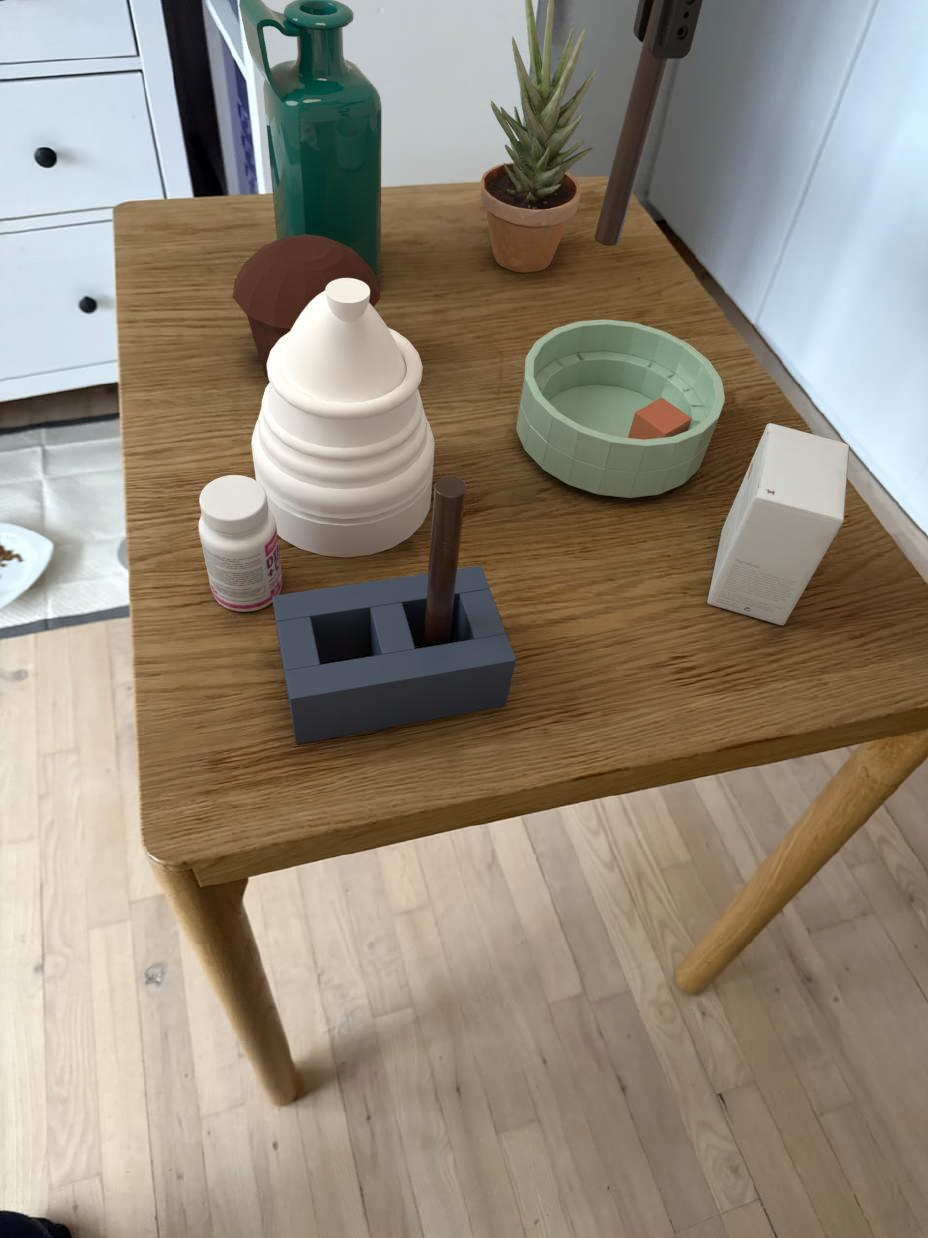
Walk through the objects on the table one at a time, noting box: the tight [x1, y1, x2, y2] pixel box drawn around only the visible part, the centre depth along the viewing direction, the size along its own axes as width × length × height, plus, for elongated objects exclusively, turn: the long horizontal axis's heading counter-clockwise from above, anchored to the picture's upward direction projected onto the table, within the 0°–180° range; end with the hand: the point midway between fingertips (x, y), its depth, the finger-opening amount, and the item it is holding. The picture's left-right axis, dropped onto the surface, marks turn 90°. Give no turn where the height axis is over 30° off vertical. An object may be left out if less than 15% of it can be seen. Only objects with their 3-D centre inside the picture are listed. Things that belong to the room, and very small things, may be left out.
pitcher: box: [238, 0, 383, 280], centre depth 76 cm, size 10×8×22 cm
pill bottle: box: [198, 474, 283, 613], centre depth 57 cm, size 5×5×8 cm
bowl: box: [515, 318, 726, 499], centre depth 71 cm, size 15×15×6 cm
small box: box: [706, 422, 851, 626], centre depth 61 cm, size 8×6×10 cm
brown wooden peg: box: [422, 475, 467, 648], centre depth 51 cm, size 2×2×16 cm
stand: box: [272, 565, 517, 745], centre depth 55 cm, size 8×13×5 cm, turn 105°
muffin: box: [232, 234, 381, 377], centre depth 73 cm, size 12×11×10 cm
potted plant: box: [480, 0, 597, 274], centre depth 80 cm, size 10×10×25 cm
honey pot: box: [250, 278, 436, 559], centre depth 60 cm, size 13×13×18 cm
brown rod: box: [594, 0, 670, 247], centre depth 51 cm, size 2×2×16 cm
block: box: [628, 397, 692, 440], centre depth 70 cm, size 3×3×3 cm
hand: (659, 46), depth 49 cm, fingers closed on brown rod, 1 cm apart
